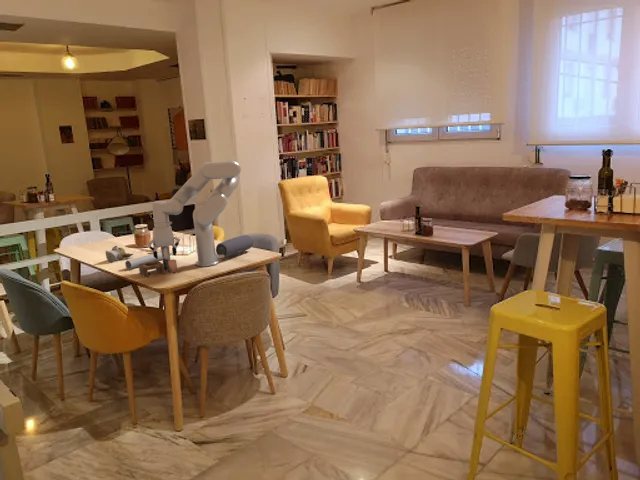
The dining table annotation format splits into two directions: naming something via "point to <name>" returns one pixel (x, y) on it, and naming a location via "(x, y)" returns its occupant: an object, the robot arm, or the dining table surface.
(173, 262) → the clay pin short
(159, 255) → the tube
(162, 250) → the steel pin long
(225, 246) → the bluetooth speaker
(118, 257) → the ceramic sculpture
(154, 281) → the dining table surface
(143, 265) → the walnut bridge
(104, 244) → the dining table surface
